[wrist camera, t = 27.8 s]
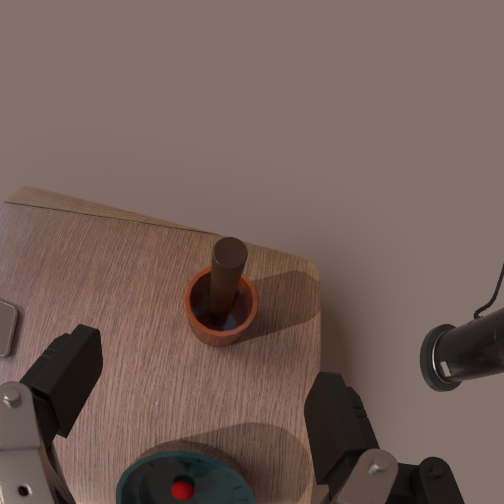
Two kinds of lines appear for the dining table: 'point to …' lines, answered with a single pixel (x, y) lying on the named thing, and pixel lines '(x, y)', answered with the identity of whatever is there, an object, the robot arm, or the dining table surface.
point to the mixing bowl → (184, 476)
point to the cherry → (182, 490)
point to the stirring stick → (225, 277)
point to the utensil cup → (238, 316)
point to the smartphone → (7, 327)
